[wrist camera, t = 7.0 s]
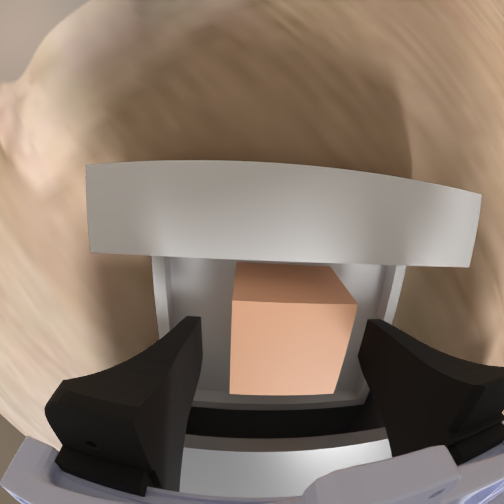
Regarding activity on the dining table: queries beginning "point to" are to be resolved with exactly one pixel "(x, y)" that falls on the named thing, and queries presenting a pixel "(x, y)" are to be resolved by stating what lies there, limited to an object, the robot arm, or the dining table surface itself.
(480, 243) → the dining table surface
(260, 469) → the housing
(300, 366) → the block
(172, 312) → the tray
